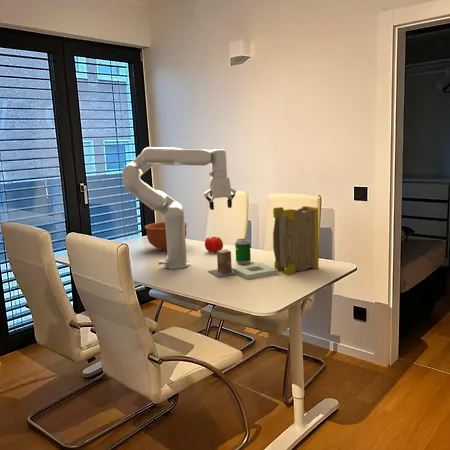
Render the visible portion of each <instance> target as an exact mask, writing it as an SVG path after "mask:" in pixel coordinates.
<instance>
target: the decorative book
mask: <svg viewBox="0 0 450 450" xmlns="http://www.w3.org/2000/svg"><path fill="white" fill-rule="evenodd" d="M272 210H273V212H272V213H273V214H272V215H273V218H274V225H273V230H272V231H273V232H272V247H273V253H274V259H275V260H274V268H275V269H277V270H278V271H284V275H286V276H290V275H295V274H296V272H298V271H306V270H307V269H308V268H312V269H313V270H318V269H319V208H318V207H315V206H308V205H307V206H306V205H305V206H304V205H303V206H301V207H300V208H298V209H292V208H288V209H284V207H282V206H281V207H280V206H278V207H273V209H272Z"/></svg>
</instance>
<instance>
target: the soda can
mask: <svg viewBox="0 0 450 450" xmlns="http://www.w3.org/2000/svg"><path fill="white" fill-rule="evenodd" d="M234 243H235V245H234V246H235V247H234V249H235V262H236V263H237V264H238V265H247V264H250V262H251V260H252V258H251V241H250V240H249V239H248V238H238V239H236V241H234Z"/></svg>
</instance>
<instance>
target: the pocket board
mask: <svg viewBox="0 0 450 450" xmlns="http://www.w3.org/2000/svg"><path fill="white" fill-rule="evenodd" d="M232 268H233V271H235V272H236V273H238V276H240V277H242V278H244V279H246V280H250V279H256V278H261V277H268V276H273V275H274V276H275V275H278V270H277V269H275V267H272V266H270V265H267V264H265V263H262V262H261V263H255V264H249V265H245V266H239V267H232Z"/></svg>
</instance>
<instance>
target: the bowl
mask: <svg viewBox="0 0 450 450" xmlns="http://www.w3.org/2000/svg"><path fill="white" fill-rule="evenodd" d="M184 226H185V240H186V238H187V226H188V223H187V222H185V221H184ZM144 229H145V230H146V237H147V238H146V239H147V241H148V243H149V244H150V245H152V246H153V247H154V248H157V249H159V250H160V249H161V250H167V241H166V228H165V221H160V222H153V223H150V224H145V226H144ZM161 250H160V251H161Z"/></svg>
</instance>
